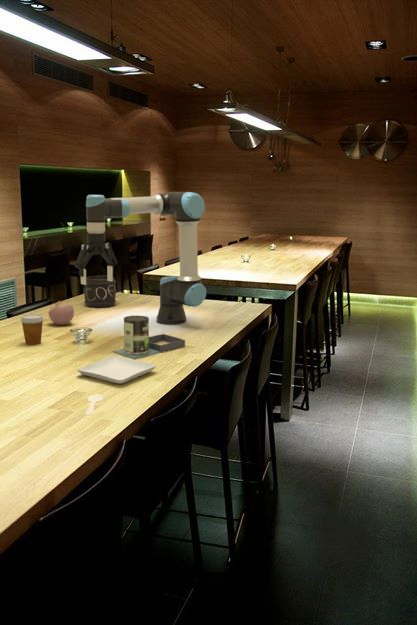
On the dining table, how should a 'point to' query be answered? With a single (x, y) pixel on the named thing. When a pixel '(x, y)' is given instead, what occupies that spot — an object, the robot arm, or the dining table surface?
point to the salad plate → (116, 369)
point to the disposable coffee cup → (32, 328)
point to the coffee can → (136, 334)
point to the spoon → (93, 402)
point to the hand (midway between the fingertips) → (97, 282)
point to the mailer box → (156, 346)
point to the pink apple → (61, 314)
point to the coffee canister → (99, 292)
